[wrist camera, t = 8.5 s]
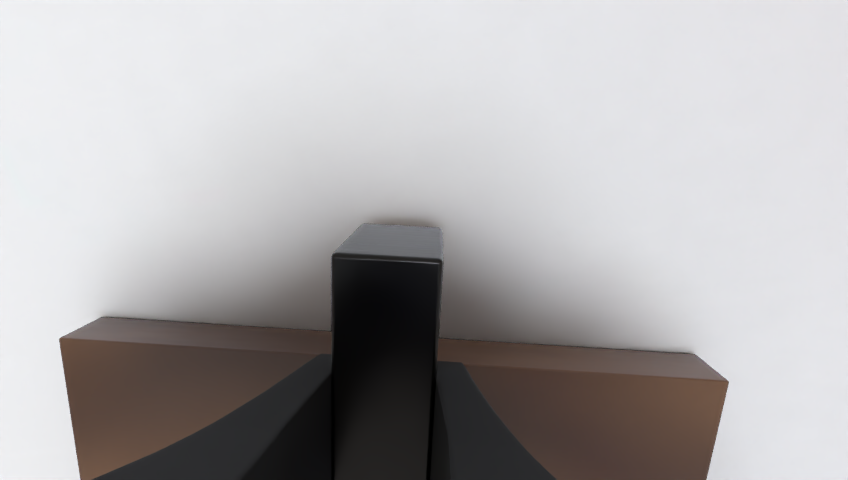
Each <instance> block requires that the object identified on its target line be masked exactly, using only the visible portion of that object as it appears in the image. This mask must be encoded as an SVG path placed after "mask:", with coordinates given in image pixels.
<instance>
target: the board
mask: <svg viewBox="0 0 848 480" xmlns="http://www.w3.org/2000/svg"><path fill="white" fill-rule="evenodd" d="M59 342H60V348H61V355H62V361H63V368H64V374H65V381H66V387H67V394H68V401H69V407H70V414H71V420H72V427H73V433H74V440H75V446H76V453H77V459H78V466H79V472H80V479H81V480H92V479H94V478H96V477H99V476H101V475H103V474H106V473H108V472H110V471H113V470H115V469H117V468H120V467H122V466H124V465H127V464H129V463H132V462H134V461H136V460H139V459H141V458H143V457H146V456H148V455H150V454H153V453H155V452H157V451H159V450H161V449H163V448H165V447H167V446H169V445H171V444H173V443H175V442H177V441H179V440H181V439H183V438H185V437H187V436H189V435H191V434H193V433H195V432H197V431H199V430H201V429H203V428H205V427H206V426H208V425H210V424H212V423H214V422H215V421H217V420H219V419H221V418H222V417H224V416H226V415H227V414H229V413H231V412H232V411H234V410H235V409H237V408H239V407H240V406H242V405H244V404H245V403H247V402H249V401H250V400H252V399H254V398H255V397H257V396H258V395H260V394H262V393H263V392H265V391H266V390H268V389H269V388H271V387H272V386H274V385H275V384H276V383H278V382H279V381H281V380H282V379H284V378H285V377H287V376H288V375H290V374H291V373H293V372H294V371H296V370H297V369H298V368H300V367H301V366H303V365H304V364H306V363H307V362H309V361H310V360H312V359H313V358H315V357H316V356H318V355H320V354H321V353H323V354H331V331H315V330H299V329H283V328H267V327H251V326H235V325H219V324H204V323H188V322H172V321H156V320H140V319H124V318H108V317H101V318H99V319H97V320H95V321H93V322H91V323H89V324H87V325H85V326H83V327H81V328H79V329H77V330H75V331H73V332H71V333H69V334H67V335H65V336H63V337H61V338H60V339H59ZM437 361H449V362H462V363H463V365H464V366H465V367H466V368H467V370H468V372H469V374H470V375H471V377H472V379H473V380H474V382H475V384H476V385H477V387H478V388H479V390H480V391H481V393H482V394H483V396H484V397H485V399H486V400H487V401H488V403H489V404H490V406H491V407H492V408H493V410H494V411H495V412H496V414H497V415H498V416H499V418H500V419H501V420H502V421H503V423H504V424H505V425H506V426H507V428H508V429H509V430H510V431H511V433H512V434H513V435H514V436H515V437H516V438H517V440H518V441H519V442H520V443H521V444H522V445H523V447H524V448H525V449H526V450H527V451H528V452H529V453H530V454H531V455H532V456H533V457H534V458H535V459H536V460H537V461H538V462H539V463H540V464H541V465H542V466H543V467H544V468H545V469H546V470H547V471H548V472H549V473H550V474H551V475H552V476H554V477H555V478H556V479H557V480H706V478H707V474H708V470H709V465H710V461H711V457H712V453H713V448H714V444H715V440H716V435H717V431H718V427H719V422H720V418H721V414H722V410H723V405H724V401H725V397H726V392H727V388H728V384H729V382H728V380H726V379H725V378H724V377H723V376H721V375H720V374H719V373H718V372H716V371H715V370H714V369H713V368H711V367H710V366H709V365H708V364H707V363H705V362H704V361H703V360H702V359H700V358H699V357H698V356H697V355H695V354H680V353H664V352H648V351H633V350H617V349H601V348H585V347H569V346H553V345H537V344H521V343H505V342H490V341H474V340H458V339H442V338H439V342H438V358H437Z"/></svg>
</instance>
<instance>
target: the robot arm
mask: <svg viewBox="0 0 848 480" xmlns="http://www.w3.org/2000/svg"><path fill="white" fill-rule="evenodd" d="M92 480H332V372H331V354H323V353H321V354H320V355H318V356H316V357H315V358H313V359H312V360H310V361H309V362H307V363H306V364H304V365H303V366H301V367H300V368H298V369H297V370H296V371H294V372H293V373H291V374H290V375H288V376H287V377H285V378H284V379H282V380H281V381H279V382H278V383H276V384H275V385H274V386H272V387H271V388H269V389H268V390H266V391H265V392H263V393H262V394H260V395H258V396H257V397H255V398H254V399H252V400H250V401H249V402H247V403H245V404H244V405H242V406H240V407H239V408H237V409H235V410H234V411H232V412H231V413H229V414H227V415H226V416H224V417H222V418H221V419H219V420H217V421H215V422H214V423H212V424H210V425H208V426H206V427H205V428H203V429H201V430H199V431H197V432H195V433H193V434H191V435H189V436H187V437H185V438H183V439H181V440H179V441H177V442H175V443H173V444H171V445H169V446H167V447H165V448H163V449H161V450H159V451H157V452H155V453H153V454H150V455H148V456H146V457H143V458H141V459H139V460H136V461H134V462H132V463H129V464H127V465H124V466H122V467H120V468H117V469H115V470H113V471H110V472H108V473H106V474H103V475H101V476H99V477H96V478H94V479H92ZM430 480H557V479H556V478H555V477H554V476H552V475H551V474H550V473H549V472H548V471H547V470H546V469H545V468H544V467H543V466H542V465H541V464H540V463H539V462H538V461H537V460H536V459H535V458H534V457H533V456H532V455H531V454H530V453H529V452H528V451H527V450H526V449H525V448H524V447H523V445H522V444H521V443H520V442H519V441H518V440H517V438H516V437H515V436H514V435H513V434H512V433H511V431H510V430H509V429H508V428H507V426H506V425H505V424H504V423H503V421H502V420H501V419H500V418H499V416H498V415H497V414H496V412H495V411H494V410H493V408H492V407H491V406H490V404H489V403H488V401H487V400H486V399H485V397H484V396H483V394H482V393H481V391H480V390H479V388H478V387H477V385H476V384H475V382H474V380H473V379H472V377H471V375H470V374H469V372H468V370H467V368H466V367H465V366H464V365H463V363H462V362H449V361H437V375H436V388H435V405H434V421H433V437H432V453H431V470H430Z"/></svg>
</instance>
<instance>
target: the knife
mask: <svg viewBox="0 0 848 480" xmlns="http://www.w3.org/2000/svg"><path fill="white" fill-rule="evenodd" d="M442 277H443V235H442V229H441V228H437V227H419V226H401V225H383V224H362V225H361V226H360V227H359V228H358V229H357V230H356V231H355V232H354V233H353V234H352V235H351V236H350V237H349V238H348V239H347V240H346V241H345V242H344V243H343V244H342V245H341V246H340V247H339V248H338V249H337V250H336V251H335V252H334V253H333V254H332V256H331V372H332V480H430V470H431V453H432V437H433V421H434V405H435V388H436V375H437V358H438V342H439V326H440V309H441V293H442Z"/></svg>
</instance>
